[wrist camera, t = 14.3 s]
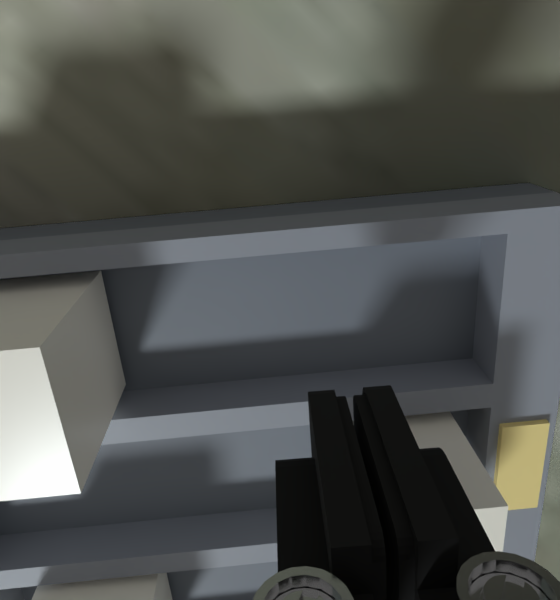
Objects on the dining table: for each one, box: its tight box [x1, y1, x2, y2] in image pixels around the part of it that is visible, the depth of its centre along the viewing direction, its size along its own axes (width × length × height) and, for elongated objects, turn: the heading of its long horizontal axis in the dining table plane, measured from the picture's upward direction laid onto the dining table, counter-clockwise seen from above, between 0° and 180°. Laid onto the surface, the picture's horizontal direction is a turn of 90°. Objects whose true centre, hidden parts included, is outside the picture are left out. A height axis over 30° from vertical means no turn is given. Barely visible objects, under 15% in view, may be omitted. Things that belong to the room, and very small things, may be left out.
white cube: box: [0, 271, 126, 501], centre depth 13 cm, size 4×4×4 cm
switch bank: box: [0, 183, 560, 600], centre depth 17 cm, size 20×16×3 cm
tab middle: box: [353, 411, 508, 552], centre depth 15 cm, size 4×4×4 cm
